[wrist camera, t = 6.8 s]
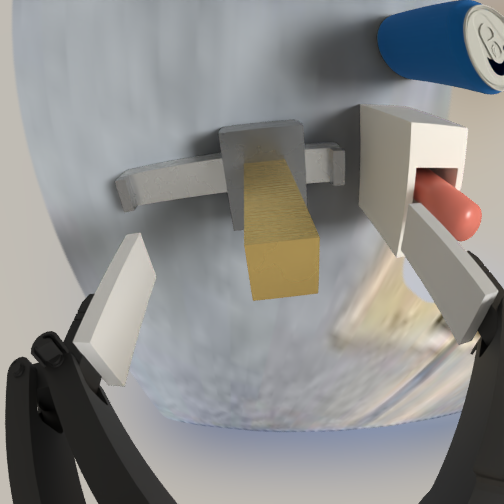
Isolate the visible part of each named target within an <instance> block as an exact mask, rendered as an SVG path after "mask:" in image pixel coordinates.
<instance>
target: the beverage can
mask: <svg viewBox="0 0 504 504" xmlns="http://www.w3.org/2000/svg"><path fill="white" fill-rule="evenodd" d="M377 41H378V47H379V50H380V53H381V55H382V57H383V59H384V61H385V62H386V63H387V65H388V66H389V67H390V68H391V69H392V70H393V71H394V72H396V73H397V74H399V75H400V76H402V77H405V78H408V79H413V80H420V81H427V82H433V83H439V84H444V85H449V86H454V87H459V88H464V89H468V90H472V91H476V92H481V93H484V94H497V93H499V92H504V17H503V16H502V15H501V14H500V13H499V12H498V11H497V10H495V9H494V8H492V7H490V6H487V5H482V4H481V3H478V2H476V1H472V0H459V1H452V2H446V3H441V4H436V5H431V6H426V7H422V8H417V9H413V10H409V11H405V12H402V13H398V14H394V15H391V16H389V17H387V18H386V19H385V20H384V21H383V22H382V23H381V25H380V27H379V30H378V36H377Z"/></svg>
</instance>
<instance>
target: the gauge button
mask: <svg viewBox="0 0 504 504" xmlns="http://www.w3.org/2000/svg"><path fill="white" fill-rule="evenodd" d="M413 199H415V200H416V201H417V202H418V203H421V204H422V205H423V206H424V207H425V208H426V209H427V210H428V211H429V212H430V213H431V214H432V215H433V216H434V217H435V218H436V219H437V220H438V221H439V222H440V223H441V224H442V225H443V226H444V227H445V228H446V229H447V230H448V231H449V232H450V233H451V234H452V236H453V237H454V238H455V239H456V240H457V241H465V240H467V239H469V238H470V237H471V236H473V235H474V234H475V232H476V231H477V229H478V227H479V225H480V222H481V217H482V214H481V209H480V207H479V206H478V205H477V204H476V203H474V202H473V201H472V200H470V199H469V198H468V197H467V196H465V195H464V194H463V193H461V192H460V191H459V190H457V189H456V188H455V187H453V186H452V185H451V184H449V183H448V182H447V181H445V180H444V179H442V178H441V177H439V176H438V175H437V174H435V173H434V172H432V171H431V170H429V169H428V168H416V177H415V186H414V194H413Z"/></svg>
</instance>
